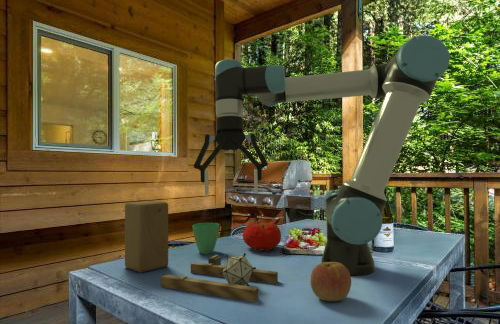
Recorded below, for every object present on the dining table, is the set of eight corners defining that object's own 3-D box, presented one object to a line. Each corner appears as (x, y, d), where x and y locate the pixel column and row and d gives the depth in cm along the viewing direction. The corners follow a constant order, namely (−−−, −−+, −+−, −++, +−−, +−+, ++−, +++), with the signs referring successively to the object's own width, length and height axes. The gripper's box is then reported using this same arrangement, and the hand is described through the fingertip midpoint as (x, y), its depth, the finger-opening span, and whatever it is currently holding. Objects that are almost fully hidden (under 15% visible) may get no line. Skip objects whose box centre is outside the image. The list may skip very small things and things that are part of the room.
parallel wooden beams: (281, 278, 88) (281, 261, 88) (254, 302, 72) (254, 281, 72) (200, 267, 99) (200, 253, 99) (160, 286, 83) (160, 269, 83)
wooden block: (169, 266, 101) (169, 201, 102) (139, 274, 94) (139, 204, 94) (152, 261, 108) (152, 200, 108) (123, 267, 100) (123, 202, 101)
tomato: (249, 255, 114) (249, 226, 114) (239, 245, 130) (239, 220, 130) (288, 252, 117) (287, 224, 118) (274, 243, 133) (273, 219, 133)
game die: (243, 304, 80) (250, 278, 75) (212, 289, 82) (217, 263, 77) (255, 276, 88) (262, 251, 82) (226, 264, 89) (232, 238, 84)
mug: (223, 253, 117) (223, 225, 117) (196, 256, 113) (196, 227, 113) (210, 245, 130) (210, 220, 130) (186, 248, 126) (186, 222, 126)
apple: (357, 306, 69) (356, 267, 69) (316, 307, 68) (315, 269, 69) (342, 291, 78) (341, 257, 78) (306, 293, 77) (305, 258, 77)
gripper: (272, 118, 95) (275, 191, 94) (186, 120, 94) (188, 194, 93) (275, 113, 87) (278, 192, 87) (182, 115, 86) (183, 195, 86)
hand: (231, 193), depth 90 cm, fingers open, 13 cm apart
